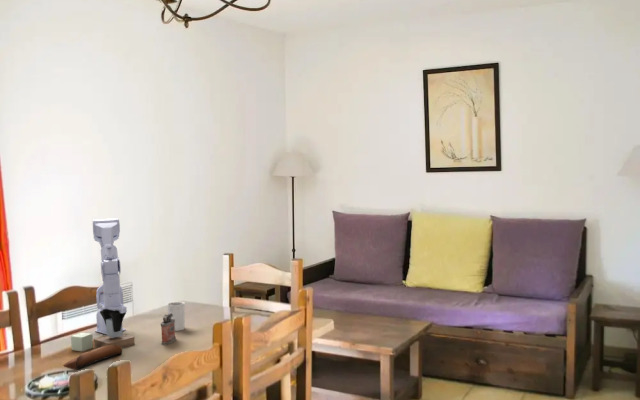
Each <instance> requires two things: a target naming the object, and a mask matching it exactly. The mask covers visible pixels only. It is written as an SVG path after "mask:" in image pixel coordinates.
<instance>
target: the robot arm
mask: <svg viewBox="0 0 640 400" xmlns="http://www.w3.org/2000/svg"><path fill="white" fill-rule="evenodd" d="M120 226H121V225H120V219H119V218H118V217H117V218H104V219H96V218H95V219H93V220H92V234H93V239H94V240H93V241H95V242H97V243H98V244H99V245H100V256H101V257H100V258H101V259H100V260H101V261H100V272H101V273H100V274H101V277H102V278H101V279H102V284H101V285H100V286H99V287H97V289H96V308H97V309H98V310H97V312H96V315H95V316H96V329H95V330H94V331H95V332H97V333H99V334H104V335H107V333H106V319H110V318H111V319H112V322H113V328H114V332H117V331H120V330H121V325H122V326H123V322H124V318H125V315H126V314H127V313H128V312H127V311H128V310H127V308H128V307H127V306H125V305H124V292H123V288H122V286H121V277H120V275H121V272H122V268H121V261H120V257H119V255H118V249H117V247H116V245H114V242H115V241H117V240H119V237H120V232H121V230H120V229H121V227H120ZM122 329H123V332H124V331H126V328H123V327H122Z"/></svg>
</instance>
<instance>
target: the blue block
mask: <svg viewBox="0 0 640 400" xmlns="http://www.w3.org/2000/svg"><path fill="white" fill-rule="evenodd" d="M122 328H123V324H122V325H121V330H120V331H117V332H114V328H113V322H112V319H111V318H110V319H106V333H107V334H106V336H108V337H112V338H114V337H118V336H122V335H123V334H124V333H123V332H124V331H123V329H122Z"/></svg>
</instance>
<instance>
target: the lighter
mask: <svg viewBox="0 0 640 400" xmlns="http://www.w3.org/2000/svg"><path fill="white" fill-rule="evenodd" d="M172 316H173V313H169V314H168V313H167V314H164V316H163V317H162V322H160V327H161V345H162V346H165V345H170V344H172V343H174V342H175V341H176V340H177V339H176V331H175V323H174V322H175V319H171V317H172Z"/></svg>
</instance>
